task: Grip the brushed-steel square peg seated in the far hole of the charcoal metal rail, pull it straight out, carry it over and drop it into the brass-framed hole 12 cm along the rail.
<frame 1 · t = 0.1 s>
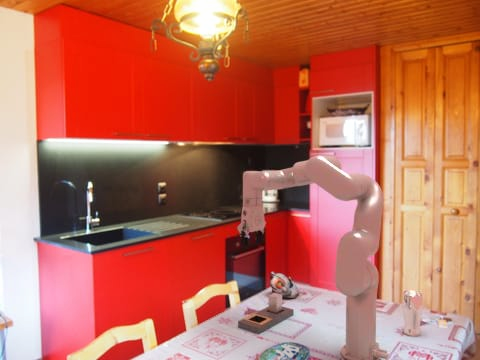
hand: (252, 244, 159), 31 cm above the table, fingers open, 9 cm apart
beer glass: (412, 333, 149), on the table
steel peg: (275, 316, 164), point 1 cm above the table, touching hole rail
hole rail: (266, 322, 159), on the table
lucky cat figurine: (284, 296, 191), on the table
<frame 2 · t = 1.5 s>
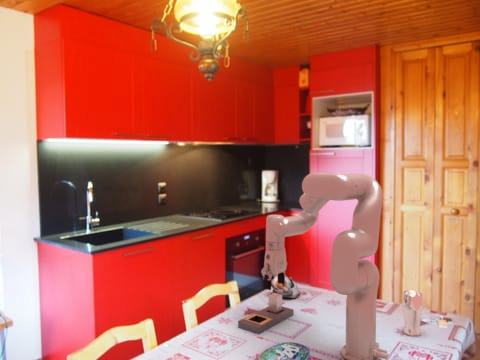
hand: (274, 286, 164), 13 cm above the table, fingers open, 9 cm apart
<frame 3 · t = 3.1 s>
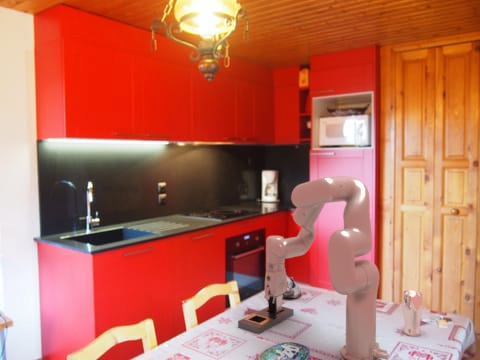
hand: (275, 310, 164), 3 cm above the table, fingers closed on steel peg, 4 cm apart
steel peg: (275, 316, 164), point 1 cm above the table, touching gripper, hole rail
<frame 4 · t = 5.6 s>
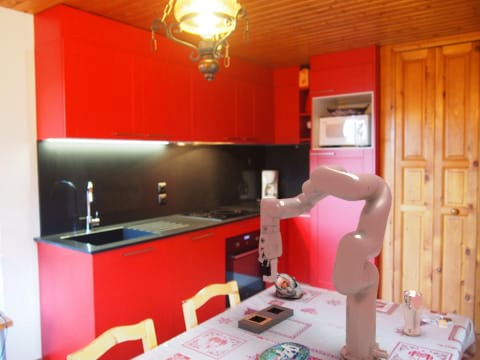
hand: (270, 274, 160), 19 cm above the table, fingers closed on steel peg, 4 cm apart
steel peg: (270, 280, 160), point 16 cm above the table, touching gripper
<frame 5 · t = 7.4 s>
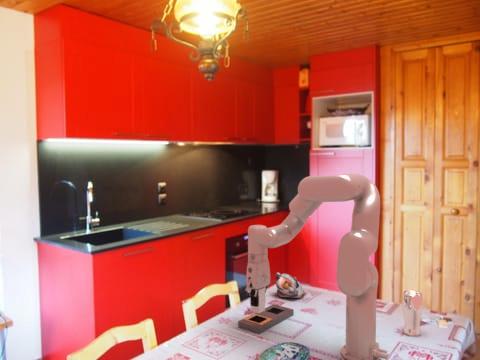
hand: (257, 303, 154), 9 cm above the table, fingers closed on steel peg, 4 cm apart
steel peg: (257, 310, 154), point 7 cm above the table, touching gripper
when the fingers open (5 cm above the table, at t = 8.6 s): steel peg drops 1 cm, resting on hole rail.
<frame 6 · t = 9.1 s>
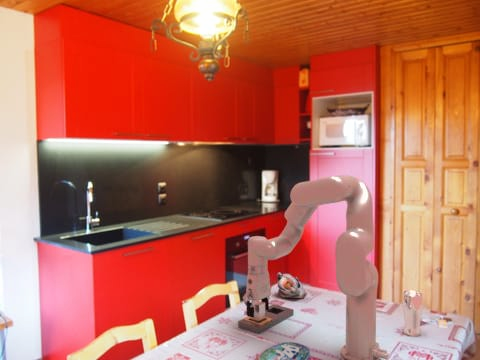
hand: (257, 312, 154), 6 cm above the table, fingers open, 9 cm apart
steel peg: (257, 325, 155), point 1 cm above the table, touching hole rail
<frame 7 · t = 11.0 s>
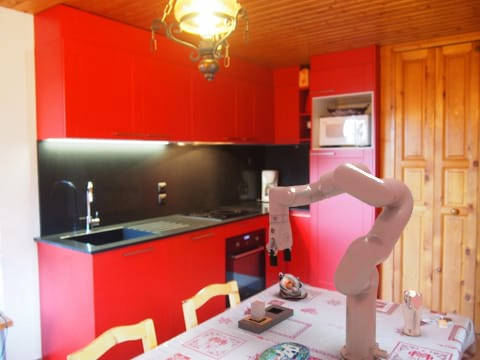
hand: (280, 263, 153), 25 cm above the table, fingers open, 9 cm apart
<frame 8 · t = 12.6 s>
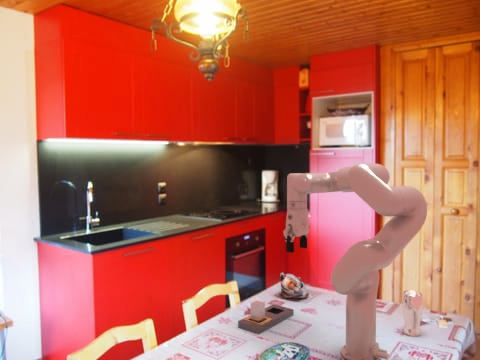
hand: (296, 250, 153), 30 cm above the table, fingers open, 9 cm apart
at the end: steel peg 0.0 cm from the target spot on the hole rail, point 0.6 cm above the hole rail's base; steel peg tilted 0°; the gripper is holding nothing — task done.
